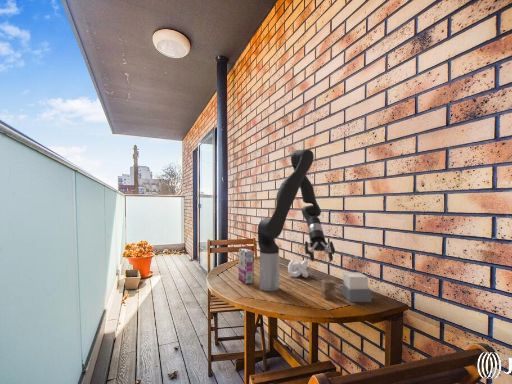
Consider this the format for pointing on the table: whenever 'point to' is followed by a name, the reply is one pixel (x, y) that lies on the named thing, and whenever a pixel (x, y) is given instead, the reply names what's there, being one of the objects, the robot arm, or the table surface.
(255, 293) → the table surface
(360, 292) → the tower base block
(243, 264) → the candy bar box
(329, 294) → the walnut block
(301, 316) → the table surface
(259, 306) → the table surface
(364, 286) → the tower top block
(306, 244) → the robot arm
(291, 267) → the white knot sculpture
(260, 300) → the table surface
